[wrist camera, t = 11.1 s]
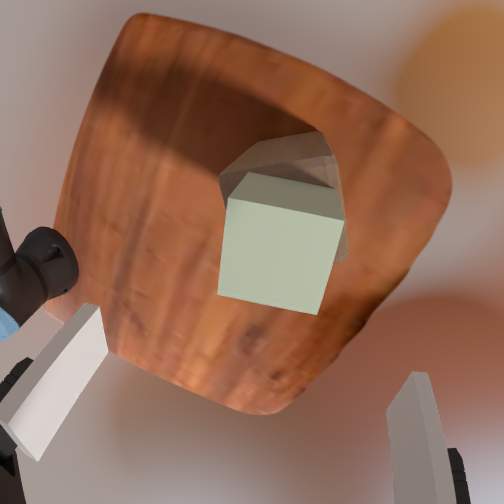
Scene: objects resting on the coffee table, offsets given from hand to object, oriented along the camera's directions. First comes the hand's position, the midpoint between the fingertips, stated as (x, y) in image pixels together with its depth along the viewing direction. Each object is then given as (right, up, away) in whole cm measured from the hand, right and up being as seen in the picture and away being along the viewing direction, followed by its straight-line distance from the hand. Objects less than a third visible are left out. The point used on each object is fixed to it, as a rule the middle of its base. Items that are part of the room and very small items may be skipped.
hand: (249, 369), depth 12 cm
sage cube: (+3, +7, +14) cm, 16 cm away
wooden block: (+6, +16, +32) cm, 37 cm away
